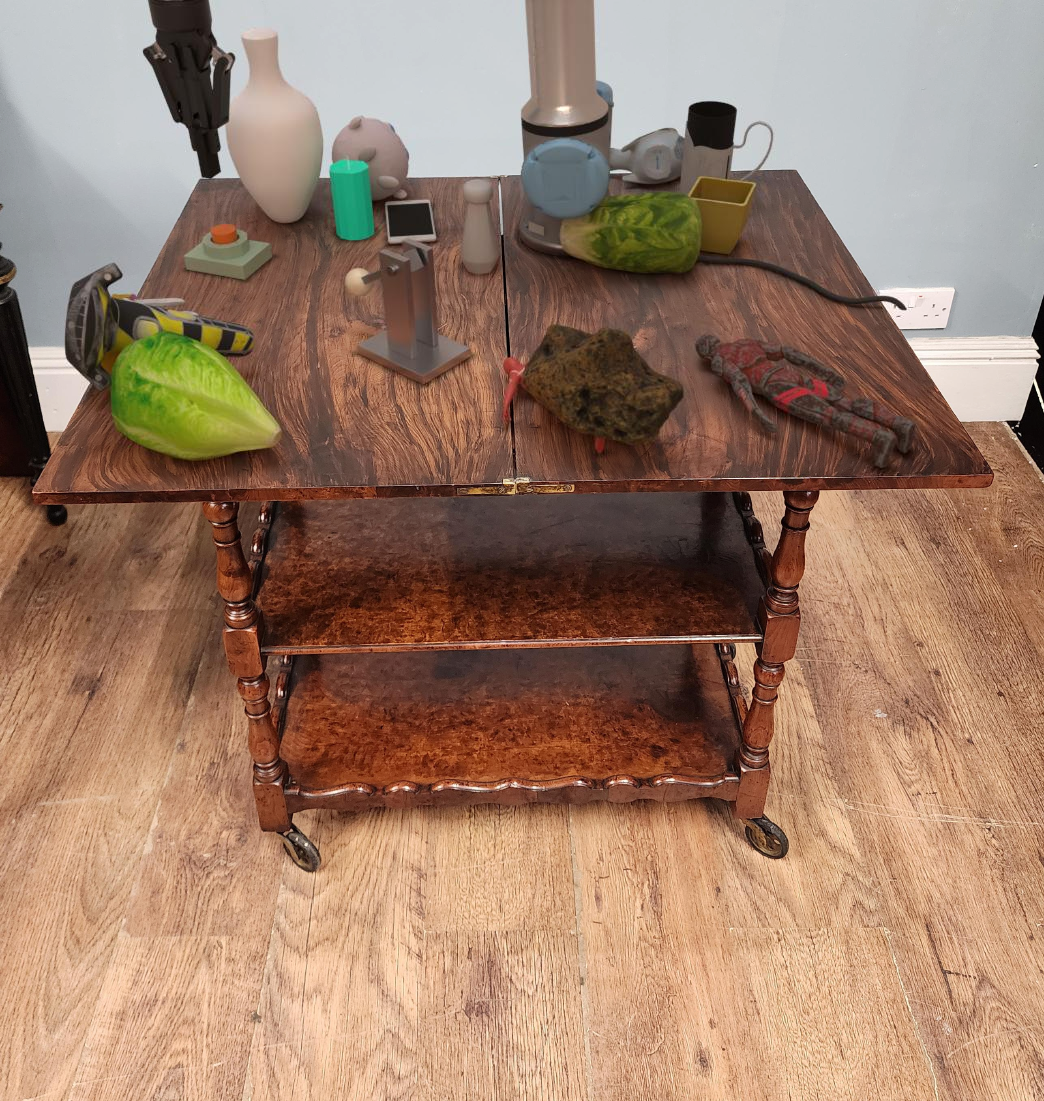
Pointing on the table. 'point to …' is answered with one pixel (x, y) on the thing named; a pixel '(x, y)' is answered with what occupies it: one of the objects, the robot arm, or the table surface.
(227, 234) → the button
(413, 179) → the table surface
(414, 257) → the lever
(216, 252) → the button block
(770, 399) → the figurine
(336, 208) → the candle
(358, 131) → the toy
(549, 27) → the robot arm
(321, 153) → the vase
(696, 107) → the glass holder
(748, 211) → the flower pot
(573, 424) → the rock
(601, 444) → the figurine
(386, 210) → the smartphone
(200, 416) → the lettuce
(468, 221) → the salt shaker
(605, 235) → the lettuce
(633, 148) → the white rounded ceramic body
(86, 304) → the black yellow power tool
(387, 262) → the bracket
